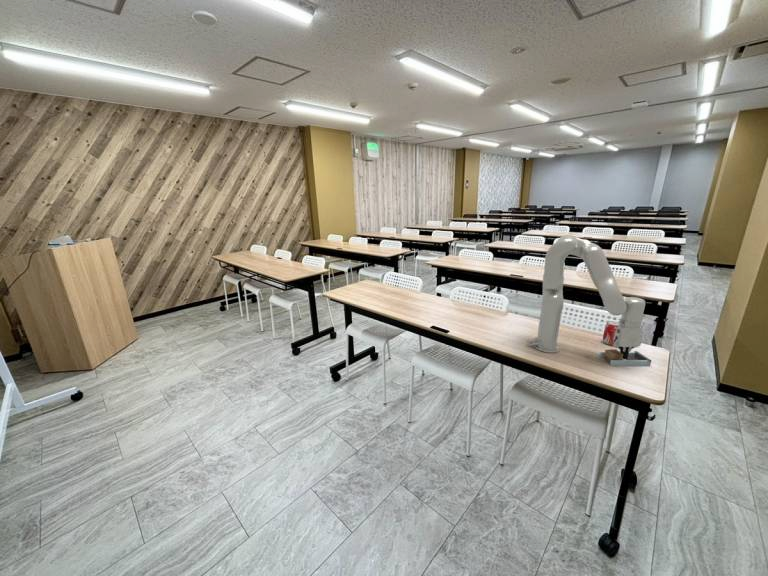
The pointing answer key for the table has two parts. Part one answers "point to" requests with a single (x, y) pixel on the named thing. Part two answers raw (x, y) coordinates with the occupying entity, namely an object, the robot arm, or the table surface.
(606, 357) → the walnut block
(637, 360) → the grey open frame
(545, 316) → the robot arm
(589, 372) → the table surface
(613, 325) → the soda can
